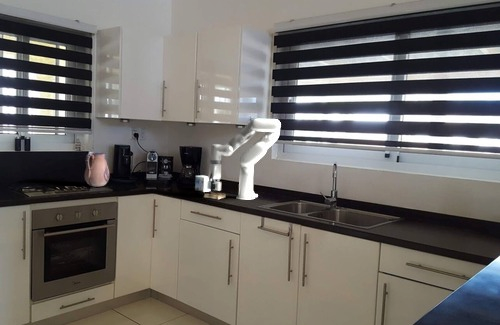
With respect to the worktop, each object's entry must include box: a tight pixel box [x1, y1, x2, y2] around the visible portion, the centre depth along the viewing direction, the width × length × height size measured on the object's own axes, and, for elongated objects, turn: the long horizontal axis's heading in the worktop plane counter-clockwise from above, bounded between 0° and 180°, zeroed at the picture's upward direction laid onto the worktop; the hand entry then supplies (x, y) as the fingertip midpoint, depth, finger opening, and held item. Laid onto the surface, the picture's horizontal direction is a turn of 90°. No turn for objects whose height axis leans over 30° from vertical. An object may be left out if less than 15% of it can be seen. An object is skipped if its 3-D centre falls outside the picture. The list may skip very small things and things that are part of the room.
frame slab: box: [207, 181, 222, 192], centre depth 281 cm, size 9×4×6 cm, turn 64°
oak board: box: [203, 191, 227, 200], centre depth 282 cm, size 11×10×2 cm
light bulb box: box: [194, 174, 211, 193], centre depth 307 cm, size 11×7×11 cm, turn 45°
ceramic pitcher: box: [84, 151, 110, 188], centre depth 307 cm, size 18×21×25 cm
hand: (214, 188), depth 281 cm, fingers closed on frame slab, 3 cm apart
